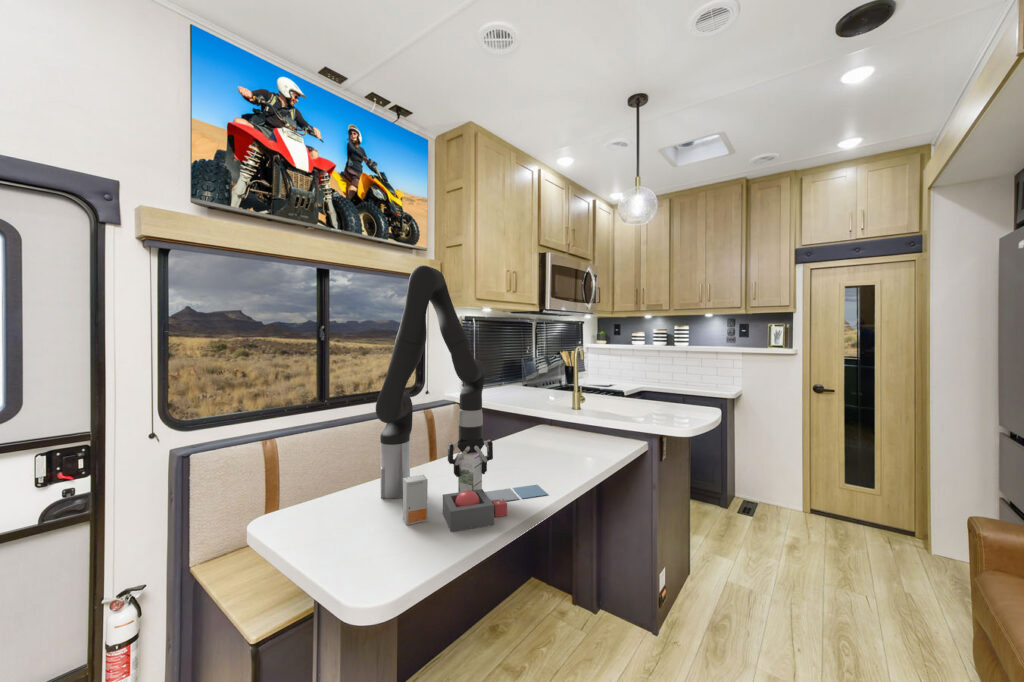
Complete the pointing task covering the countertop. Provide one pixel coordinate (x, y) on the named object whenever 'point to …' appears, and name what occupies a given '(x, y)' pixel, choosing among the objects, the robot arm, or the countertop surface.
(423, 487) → the skincare box
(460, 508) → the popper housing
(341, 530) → the countertop surface
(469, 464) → the syrup box
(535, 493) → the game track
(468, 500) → the red ball
